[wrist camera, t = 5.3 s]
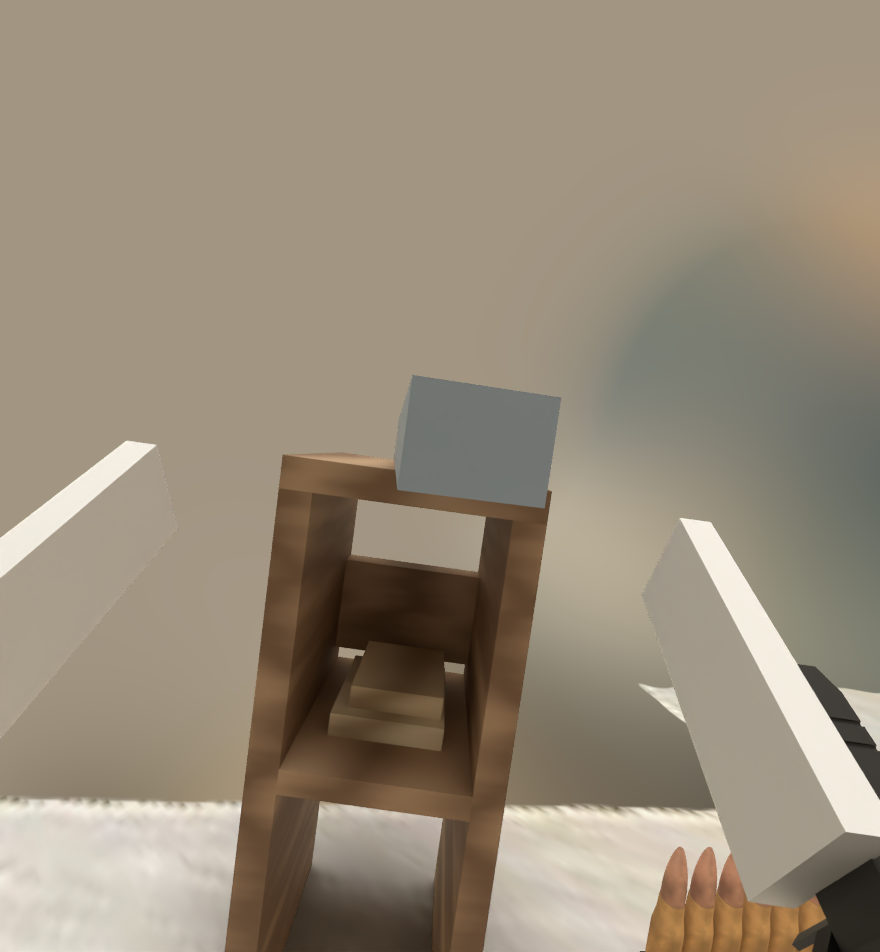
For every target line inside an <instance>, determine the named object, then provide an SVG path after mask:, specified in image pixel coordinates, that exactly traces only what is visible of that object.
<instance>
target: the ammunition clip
mask: <svg viewBox="0 0 880 952" xmlns="http://www.w3.org/2000/svg"><path fill="white" fill-rule="evenodd" d="M687 881H688V874H687V862H686V856H685V852H684V850H683V848H682V847H678V848H677V849H676V850H675V852H674V853H673V855H672V856H671V858H670V860H669V862H668V865H667V867H666V870H665V873H664V877H663V881H662V886H661V890H660V893H659V897H658V901H657V905H656V907H655V909H654V911H653V914H652V917H651V922H650V927H649V933H648V939H647V944H646V950H645V951H640V952H812V949H813V945H814V944H812V945H810V946H809V947H807V948H805V949H803V950H801V951H798V950H797V949H796V948H795V947H794V946H793V945H792V943H793V942H794V940H795V938H796V937H797V935H798V934H799V933H801V932H803V931H805V930H806V929H808V928H810V927H812V926H814V925H815V924H817V923H819V922H821V921H822V920H824V919H826V917H825V915H824V913H823V910H822V908H821V906H820V904H819V901H818V899H817V897H816V896H815V897H813V898H811V899H810V900H808V901H807V902H805V903H804V904H802V905H800V906H799V907H797V908H796V909H794V908H787V907H780V906H774V905H767V904H760V903H754V902H748V900H747V897H746V894H745V891H744V888H743V885H742V882H741V880H740V877H739V874H738V871H737V868H736V865H735V862H734V859H733V856H732V854H731V853H730V855H729V857H728V859H727V861H726V863H725V865H724V868H723V871H722V874H721V877H720V881H719V886H718V889H717V892H716V888H717V868H716V860H715V855H714V852H713V849H712V848H711V847H708V848H706V849H705V850H704V852H703V853H702V855H701V856H700V858H699V860H698V862H697V865H696V867H695V870H694V873H693V876H692V880H691V885H690V889H689V892H688V896H687V900H686V894H687ZM715 896H716V897H715ZM685 901H686V904H685Z"/></svg>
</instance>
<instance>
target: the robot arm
mask: <svg viewBox="0 0 880 952" xmlns="http://www.w3.org/2000/svg"><path fill="white" fill-rule="evenodd" d="M177 530H178V526H177V523H176V519H175V515H174V511H173V508H172V504H171V499H170V495H169V492H168V487H167V484H166V480H165V476H164V472H163V468H162V464H161V460H160V456H159V453H158V449H157V445H152V444H146V443H138V442H131V441H126V442H124V443H123V444H122V445H121V446H119V447H118V448H117V449H115V450H114V451H113V452H111V453H110V454H109V455H108V456H106V457H105V458H104V459H102V460H101V461H100V462H98V463H97V464H96V465H95V466H93V467H92V468H91V469H89V470H88V471H87V472H85V473H84V474H83V475H82V476H80V477H79V478H78V479H76V480H75V481H74V482H72V483H71V484H70V485H69V486H67V487H66V488H65V489H63V490H62V491H61V492H59V493H58V494H57V495H56V496H54V497H53V498H52V499H51V500H49V501H48V502H46V503H45V504H44V505H43V506H41V507H40V508H39V509H37V510H36V511H35V512H33V513H32V514H31V515H30V516H28V517H27V518H26V519H25V520H23V521H22V522H20V523H19V524H18V525H17V526H16V527H14V528H13V529H11V530H10V531H9V532H7V533H6V534H5V535H4V536H2V537H1V538H0V739H1V737H2V736H3V735H4V734H5V733H6V732H7V730H8V729H9V728H10V727H11V726H12V724H13V723H14V722H15V721H16V720H17V719H18V717H19V716H20V715H21V714H22V713H23V712H24V710H25V709H26V708H27V707H28V706H29V704H30V703H31V702H32V701H33V700H34V699H35V697H36V696H37V695H38V694H39V693H40V692H41V690H42V689H43V688H44V687H45V686H46V684H47V683H48V682H49V681H50V680H51V679H52V677H53V676H54V675H55V674H56V672H58V670H59V669H60V668H61V667H62V666H63V664H64V663H65V662H66V661H67V659H69V657H70V656H71V655H72V654H73V653H74V651H75V650H76V649H77V648H78V647H79V645H80V644H81V643H82V642H83V641H84V640H85V639H86V637H87V636H88V635H89V633H91V631H92V630H93V629H94V628H95V627H96V626H97V624H98V623H99V622H100V621H101V620H102V618H103V617H104V616H105V615H106V614H107V613H108V611H109V610H110V609H111V608H112V607H113V605H114V604H115V603H116V602H117V601H118V599H119V598H120V597H121V596H122V595H123V594H124V592H125V591H126V590H127V589H128V588H129V587H130V585H131V584H132V583H133V582H134V581H135V579H136V578H137V577H138V576H139V575H140V574H141V572H142V571H143V570H144V569H145V567H146V566H147V565H148V564H149V563H150V562H151V561H152V559H153V558H154V557H155V556H156V555H157V554H158V552H159V551H160V550H161V549H162V548H163V546H164V545H165V544H166V543H167V542H168V540H169V539H170V538H171V537H172V536H173V535H174V533H175V532H176V531H177ZM642 597H643V600H644V603H645V606H646V609H647V612H648V615H649V618H650V620H651V623H652V626H653V629H654V632H655V635H656V638H657V641H658V643H659V646H660V649H661V652H662V655H663V658H664V660H665V664H666V667H667V669H668V672H669V675H670V678H671V681H672V684H673V687H674V690H675V692H676V695H677V698H678V701H679V704H680V707H681V710H682V713H683V715H684V718H685V721H686V724H687V727H688V730H689V733H690V736H691V738H692V741H693V744H694V747H695V750H696V753H697V756H698V759H699V762H700V764H701V767H702V770H703V773H704V776H705V779H706V781H707V784H708V787H709V790H710V793H711V796H712V799H713V801H714V805H715V808H716V810H717V813H718V816H719V819H720V822H721V825H722V828H723V831H724V833H725V836H726V839H727V842H728V845H729V848H730V851H731V854H732V856H733V859H734V862H735V865H736V868H737V871H738V874H739V877H740V880H741V882H742V885H743V888H744V891H745V894H746V897H747V900H748V902H754V903H760V904H767V905H774V906H780V907H787V908H794V909H796V908H797V907H799V906H800V905H802V904H804V903H805V902H807V901H808V900H810V899H811V898H813V897H815V896H816V897H817V899H818V901H819V904H820V906H821V908H822V910H823V913H824V915H825V917H826V919H824V920H822V921H821V922H819V923H817V924H815V925H814V926H812V927H810V928H808V929H806V930H805V931H803V932H801V933H799V934H798V935H797V937H796V938H795V940H794V942H793V943H792V945H793V946H794V947H795V948H796V949H797V950H798V951H801V950H803V949H805V948H807V947H809V946H810V945H812V944H814V945H813V949H812V952H880V751H877V750H876V744H875V742H874V741H873V739H872V738H871V736H870V735H869V733H868V732H867V730H866V729H865V727H862V726H861V725H860V720H859V718H858V716H857V715H856V713H855V712H854V710H853V709H852V707H851V706H850V704H849V703H848V701H847V700H846V698H845V697H844V695H843V694H842V692H841V691H840V690H839V689H838V688H837V687H835V686H834V685H833V684H832V683H831V682H830V681H829V680H828V679H827V678H826V677H825V676H824V675H823V674H822V673H821V672H820V671H819V670H818V669H817V668H816V667H813V666H806V665H800V664H797V663H796V662H795V660H794V658H793V657H792V655H791V654H790V652H789V650H788V649H787V647H786V645H785V644H784V642H783V641H782V639H781V637H780V635H779V634H778V632H777V630H776V629H775V627H774V626H773V624H772V622H771V621H770V619H769V617H768V616H767V614H766V612H765V611H764V609H763V607H762V606H761V604H760V603H759V601H758V599H757V598H756V596H755V594H754V593H753V591H752V589H751V588H750V586H749V584H748V583H747V581H746V580H745V578H744V576H743V575H742V573H741V571H740V570H739V568H738V566H737V565H736V563H735V561H734V560H733V558H732V557H731V555H730V553H729V552H728V550H727V548H726V547H725V545H724V543H723V542H722V540H721V538H720V537H719V535H718V533H717V532H716V530H715V529H714V527H713V525H712V524H711V522H705V521H698V520H691V519H684V518H679V520H678V522H677V524H676V526H675V528H674V531H673V533H672V534H671V536H670V538H669V540H668V542H667V544H666V547H665V548H664V551H663V553H662V555H661V557H660V559H659V561H658V563H657V565H656V567H655V569H654V571H653V573H652V575H651V577H650V579H649V581H648V583H647V585H646V587H645V589H644V591H643V593H642Z"/></svg>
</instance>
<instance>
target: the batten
mask: <svg viewBox="0 0 880 952" xmlns="http://www.w3.org/2000/svg"><path fill="white" fill-rule="evenodd" d="M560 402H561V398H560V397H553V396H547V395H540V394H534V393H527V392H520V391H513V390H507V389H501V388H494V387H488V386H481V385H474V384H468V383H461V382H454V381H448V380H442V379H435V378H428V377H421V376H415V375H412V379H411V382H410V385H409V388H408V392H407V395H406V398H405V401H404V405H403V408H402V411H401V414H400V418H399V423H398V432H397V439H396V447H395V454H394V463H395V472H396V482H397V490H402V491H410V492H418V493H426V494H433V495H441V496H449V497H457V498H465V499H473V500H481V501H489V502H497V503H505V504H513V505H521V506H529V507H537V508H545V503H546V496H547V489H548V483H549V476H550V469H551V463H552V456H553V449H554V442H555V436H556V429H557V422H558V416H559V409H560Z"/></svg>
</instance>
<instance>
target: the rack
mask: <svg viewBox="0 0 880 952" xmlns="http://www.w3.org/2000/svg"><path fill="white" fill-rule="evenodd" d="M551 494H552V492H551V491H549V490H547V496H546V503H545V508H537V507H529V506H521V505H513V504H505V503H497V502H489V501H481V500H473V499H465V498H457V497H449V496H441V495H433V494H426V493H418V492H410V491H402V490H397V482H396V472H395V463H394V460H391V459H384V458H378V457H370V456H363V455H356V454H348V453H319V454H291V455H283V457H282V466H281V475H280V483H279V492H278V501H277V509H276V517H275V526H274V535H273V543H272V552H271V561H270V569H269V577H268V586H267V594H266V603H265V611H264V620H263V629H262V638H261V646H260V654H259V663H258V671H257V680H256V689H255V697H254V706H253V714H252V723H251V731H250V740H249V749H248V757H247V766H246V775H245V783H244V791H243V800H242V808H241V817H240V825H239V834H238V843H237V851H236V860H235V868H234V877H233V885H232V894H231V902H230V911H229V920H228V928H227V937H226V945H225V952H283V951H284V947H285V944H286V941H287V938H288V935H289V932H290V929H291V926H292V923H293V920H294V917H295V914H296V911H297V908H298V904H299V901H300V898H301V895H302V892H303V889H304V886H305V883H306V880H307V877H308V874H309V871H310V868H311V865H312V858H313V850H314V842H315V834H316V826H317V818H318V810H319V802H320V801H325V802H332V803H339V804H346V805H353V806H360V807H367V808H374V809H381V810H388V811H395V812H402V813H409V814H417V815H424V816H431V817H438V818H443V822H442V829H441V836H440V843H439V850H438V857H437V864H436V871H435V878H434V901H433V935H432V952H483V946H484V940H485V933H486V926H487V920H488V913H489V906H490V900H491V893H492V886H493V880H494V873H495V866H496V860H497V853H498V847H499V840H500V833H501V827H502V820H503V813H504V807H505V800H506V793H507V786H508V780H509V773H510V766H511V760H512V753H513V747H514V739H515V733H516V727H517V720H518V713H519V706H520V700H521V693H522V686H523V680H524V674H525V667H526V660H527V653H528V647H529V640H530V633H531V626H532V620H533V614H534V606H535V600H536V594H537V587H538V580H539V573H540V566H541V560H542V554H543V547H544V540H545V534H546V527H547V521H548V514H549V507H550V501H551ZM358 499H362V500H368V501H376V502H383V503H390V504H397V505H405V506H412V507H420V508H427V509H434V510H441V511H449V512H456V513H463V514H470V515H478V516H485V517H486V521H485V528H484V535H483V542H482V549H481V556H480V564H479V570H478V572H473V571H465V570H459V569H452V568H444V567H437V566H430V565H423V564H415V563H408V562H401V561H394V560H386V559H379V558H372V557H365V556H357V555H351V550H352V542H353V534H354V526H355V517H356V510H357V502H358ZM339 647H344V648H351V649H359V650H365V653H364V655H363V656H355V658H354V659H350V658H343V657H338V652H339ZM444 662H452V663H459V664H465V668H464V674H458V673H451V672H445V668H444Z"/></svg>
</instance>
